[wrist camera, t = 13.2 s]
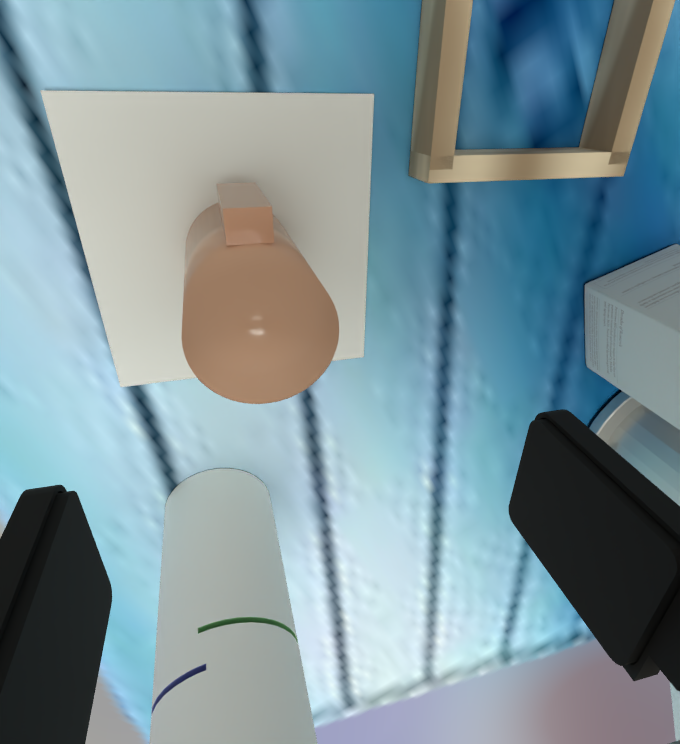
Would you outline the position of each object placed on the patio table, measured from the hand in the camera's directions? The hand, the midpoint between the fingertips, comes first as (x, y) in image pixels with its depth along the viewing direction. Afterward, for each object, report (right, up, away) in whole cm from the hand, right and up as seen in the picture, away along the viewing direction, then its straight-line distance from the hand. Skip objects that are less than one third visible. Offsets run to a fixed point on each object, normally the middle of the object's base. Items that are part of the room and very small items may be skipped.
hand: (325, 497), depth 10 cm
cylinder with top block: (-5, +9, +14) cm, 17 cm away
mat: (-5, +9, +15) cm, 18 cm away
